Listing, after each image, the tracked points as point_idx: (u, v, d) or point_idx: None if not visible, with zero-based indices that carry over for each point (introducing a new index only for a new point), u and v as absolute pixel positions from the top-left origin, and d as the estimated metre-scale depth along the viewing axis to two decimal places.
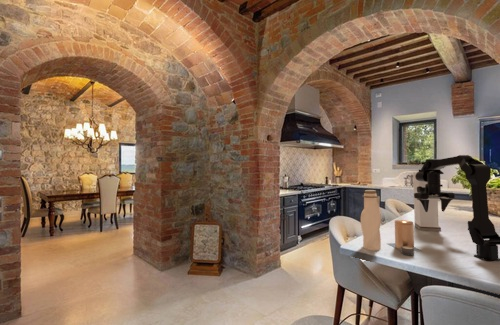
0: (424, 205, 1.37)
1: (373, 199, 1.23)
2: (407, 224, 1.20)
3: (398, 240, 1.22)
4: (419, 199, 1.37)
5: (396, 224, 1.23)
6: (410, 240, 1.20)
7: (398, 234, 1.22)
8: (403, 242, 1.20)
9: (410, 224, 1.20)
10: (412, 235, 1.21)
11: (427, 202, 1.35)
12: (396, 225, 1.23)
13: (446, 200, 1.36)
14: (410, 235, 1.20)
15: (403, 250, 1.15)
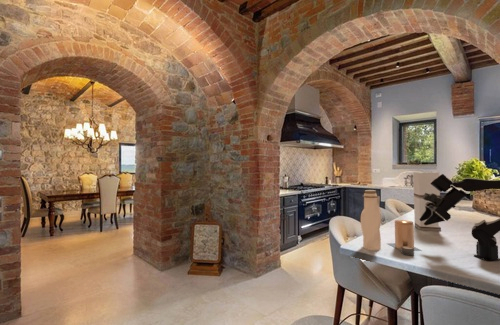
0: (432, 220, 1.14)
1: (373, 199, 1.23)
2: (407, 224, 1.20)
3: (398, 240, 1.22)
4: (438, 215, 1.12)
5: (396, 224, 1.23)
6: (410, 240, 1.20)
7: (398, 234, 1.22)
8: (403, 242, 1.20)
9: (410, 224, 1.20)
10: (412, 235, 1.21)
11: None
12: (396, 225, 1.23)
13: None
14: (410, 235, 1.20)
15: (403, 250, 1.15)
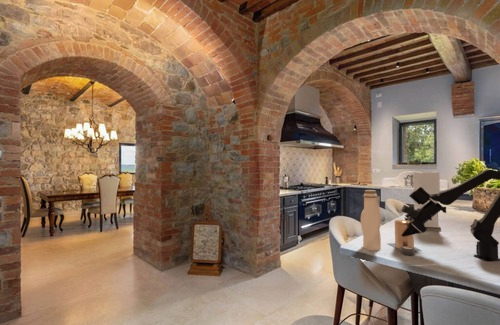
0: (409, 232, 1.18)
1: (373, 199, 1.23)
2: (407, 224, 1.20)
3: (398, 240, 1.22)
4: (414, 227, 1.16)
5: (396, 224, 1.23)
6: (410, 240, 1.20)
7: (398, 234, 1.22)
8: (403, 242, 1.20)
9: None
10: (412, 235, 1.21)
11: None
12: (396, 225, 1.23)
13: None
14: (410, 235, 1.20)
15: (403, 250, 1.15)
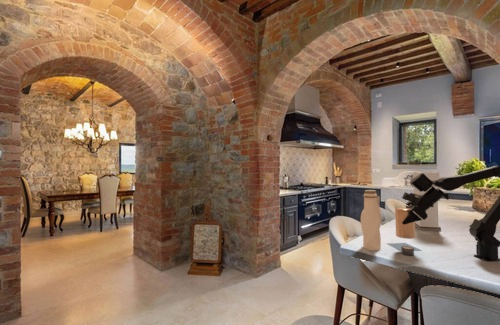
0: (410, 219, 1.15)
1: (373, 199, 1.23)
2: (408, 211, 1.17)
3: (399, 228, 1.19)
4: (415, 214, 1.12)
5: (396, 212, 1.20)
6: (411, 228, 1.16)
7: (399, 222, 1.19)
8: (404, 230, 1.17)
9: None
10: (414, 223, 1.17)
11: None
12: (396, 213, 1.20)
13: None
14: (411, 223, 1.16)
15: (403, 250, 1.15)
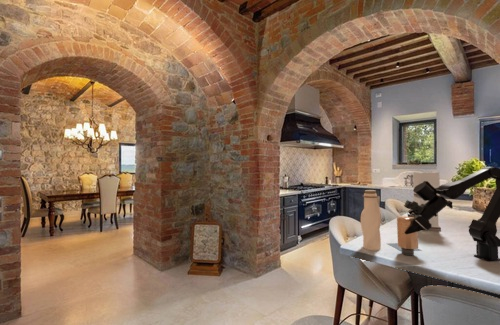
0: (412, 229, 1.10)
1: (373, 199, 1.23)
2: (410, 221, 1.12)
3: (401, 238, 1.14)
4: (418, 224, 1.07)
5: (398, 221, 1.15)
6: (414, 238, 1.12)
7: (401, 231, 1.14)
8: (406, 240, 1.12)
9: None
10: (416, 233, 1.12)
11: None
12: (398, 222, 1.15)
13: None
14: (414, 232, 1.12)
15: (403, 250, 1.15)
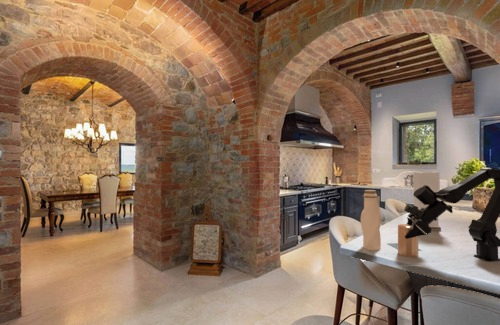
0: (412, 233, 1.10)
1: (373, 199, 1.23)
2: None
3: (401, 246, 1.14)
4: (419, 229, 1.07)
5: (400, 229, 1.14)
6: (414, 247, 1.11)
7: (401, 240, 1.14)
8: (407, 249, 1.12)
9: None
10: (417, 242, 1.12)
11: None
12: (399, 230, 1.15)
13: None
14: (414, 241, 1.11)
15: None
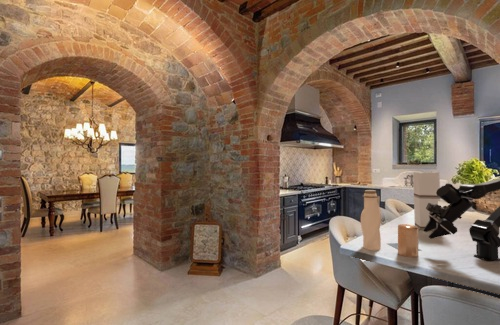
0: (437, 233, 1.07)
1: (373, 199, 1.23)
2: (412, 230, 1.11)
3: (401, 246, 1.14)
4: (444, 229, 1.04)
5: (400, 229, 1.14)
6: (414, 247, 1.11)
7: (401, 240, 1.14)
8: (407, 249, 1.12)
9: (415, 230, 1.11)
10: (417, 242, 1.12)
11: None
12: (399, 230, 1.15)
13: None
14: (414, 241, 1.11)
15: None
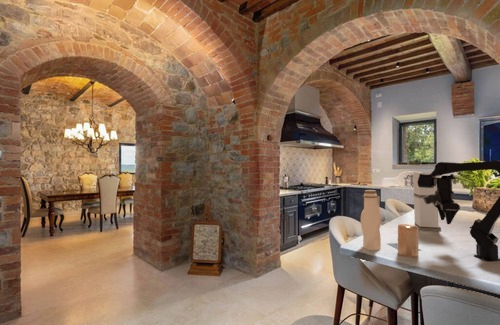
0: (449, 216, 1.15)
1: (373, 199, 1.23)
2: (412, 230, 1.11)
3: (401, 246, 1.14)
4: (450, 210, 1.13)
5: (400, 229, 1.14)
6: (414, 247, 1.11)
7: (401, 240, 1.14)
8: (407, 249, 1.12)
9: (415, 230, 1.11)
10: (417, 242, 1.12)
11: None
12: (399, 230, 1.15)
13: None
14: (414, 241, 1.11)
15: None
